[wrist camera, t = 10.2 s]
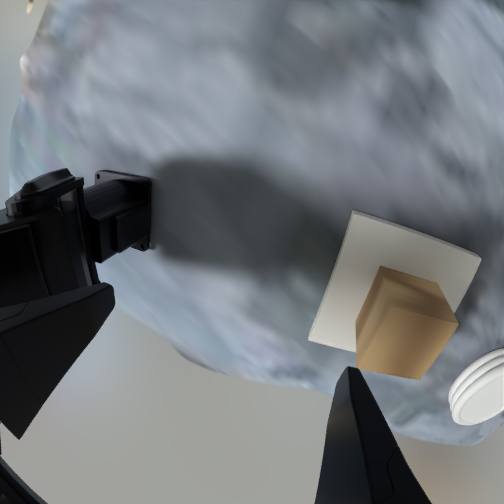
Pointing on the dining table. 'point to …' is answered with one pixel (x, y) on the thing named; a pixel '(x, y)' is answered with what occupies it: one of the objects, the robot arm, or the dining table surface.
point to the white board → (391, 256)
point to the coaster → (479, 390)
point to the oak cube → (402, 325)
